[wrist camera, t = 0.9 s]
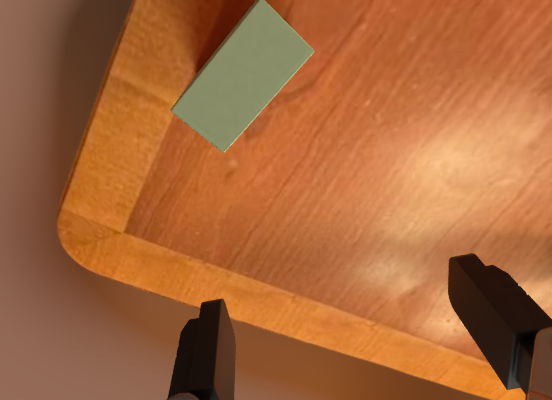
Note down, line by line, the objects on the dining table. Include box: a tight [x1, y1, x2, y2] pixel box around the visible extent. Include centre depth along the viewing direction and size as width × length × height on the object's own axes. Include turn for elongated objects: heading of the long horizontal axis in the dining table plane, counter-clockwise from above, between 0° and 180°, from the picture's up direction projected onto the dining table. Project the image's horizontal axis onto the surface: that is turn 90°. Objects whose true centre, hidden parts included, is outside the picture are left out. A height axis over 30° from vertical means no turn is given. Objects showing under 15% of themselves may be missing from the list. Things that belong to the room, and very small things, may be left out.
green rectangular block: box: [171, 0, 314, 153], centre depth 25 cm, size 4×7×11 cm, turn 137°
